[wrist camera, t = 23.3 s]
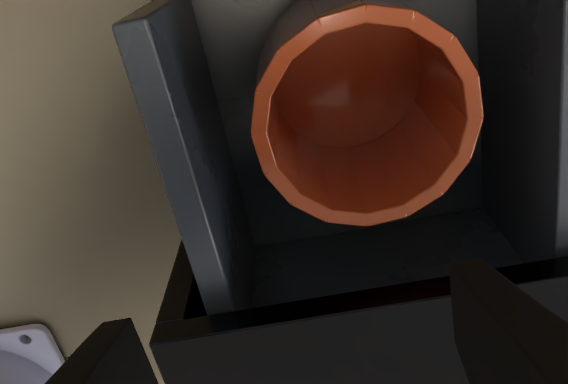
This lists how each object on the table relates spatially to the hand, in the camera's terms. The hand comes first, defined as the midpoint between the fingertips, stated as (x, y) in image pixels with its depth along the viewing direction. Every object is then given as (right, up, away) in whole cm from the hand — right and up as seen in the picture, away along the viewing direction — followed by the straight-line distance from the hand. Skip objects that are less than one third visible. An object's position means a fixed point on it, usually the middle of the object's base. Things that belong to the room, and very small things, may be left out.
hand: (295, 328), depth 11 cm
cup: (+2, +7, +6) cm, 9 cm away
